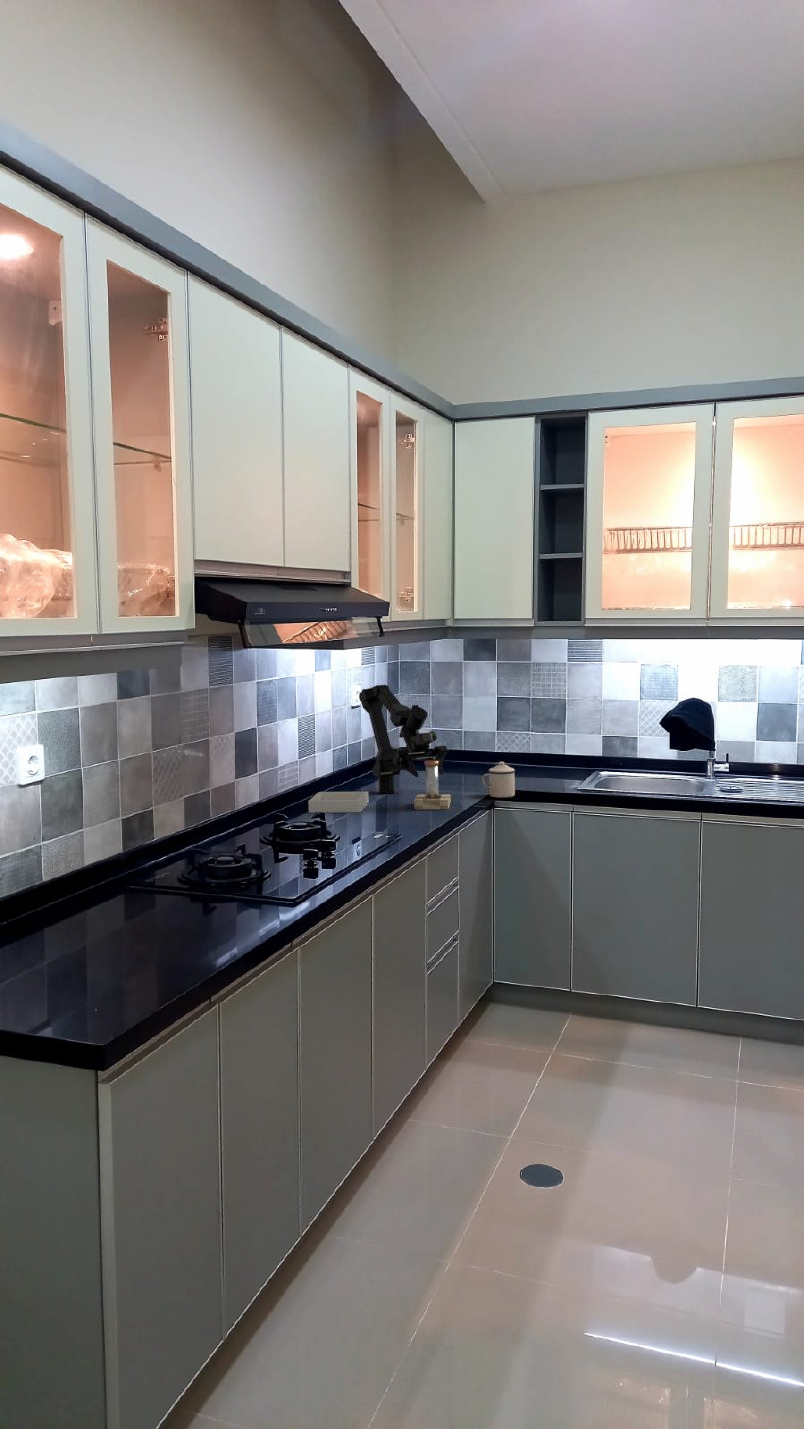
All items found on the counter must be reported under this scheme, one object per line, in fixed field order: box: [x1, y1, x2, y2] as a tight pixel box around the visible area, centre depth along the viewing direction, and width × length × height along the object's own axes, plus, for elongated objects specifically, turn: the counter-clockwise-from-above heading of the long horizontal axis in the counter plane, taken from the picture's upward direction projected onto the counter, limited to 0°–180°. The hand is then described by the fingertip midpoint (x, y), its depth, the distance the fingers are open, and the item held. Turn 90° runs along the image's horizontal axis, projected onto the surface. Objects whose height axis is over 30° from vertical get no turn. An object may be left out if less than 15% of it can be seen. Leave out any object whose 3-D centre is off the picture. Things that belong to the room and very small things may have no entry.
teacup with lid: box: [481, 761, 516, 799], centre depth 350 cm, size 12×9×12 cm
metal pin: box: [423, 759, 439, 799], centre depth 333 cm, size 5×5×15 cm
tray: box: [308, 791, 369, 813], centre depth 336 cm, size 17×17×4 cm
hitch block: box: [413, 793, 451, 811], centre depth 334 cm, size 11×11×3 cm
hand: (429, 775), depth 334 cm, fingers open, 9 cm apart
